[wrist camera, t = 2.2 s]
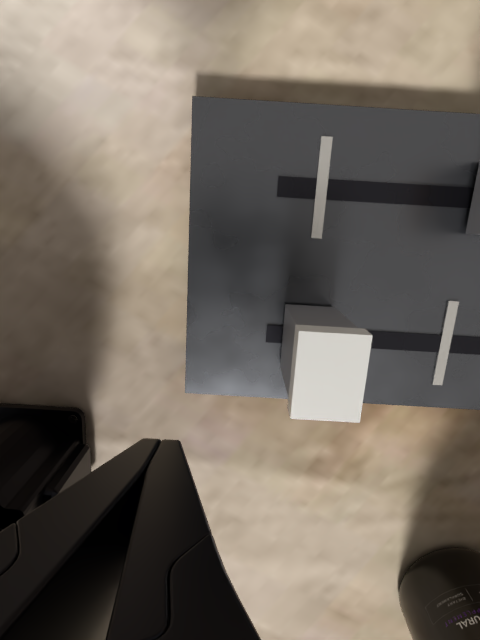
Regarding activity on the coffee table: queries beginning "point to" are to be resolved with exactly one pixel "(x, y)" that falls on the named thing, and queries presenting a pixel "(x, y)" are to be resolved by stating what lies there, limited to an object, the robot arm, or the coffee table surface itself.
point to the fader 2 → (475, 209)
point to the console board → (334, 244)
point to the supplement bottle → (443, 596)
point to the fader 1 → (323, 364)
